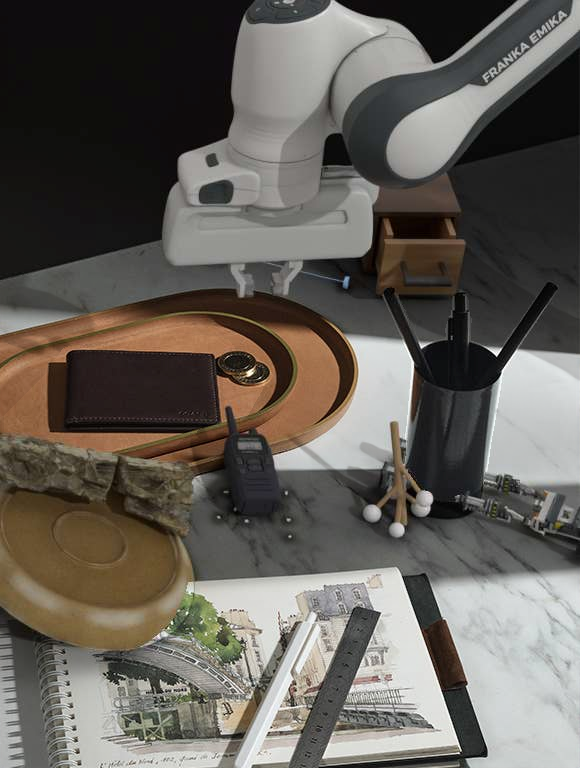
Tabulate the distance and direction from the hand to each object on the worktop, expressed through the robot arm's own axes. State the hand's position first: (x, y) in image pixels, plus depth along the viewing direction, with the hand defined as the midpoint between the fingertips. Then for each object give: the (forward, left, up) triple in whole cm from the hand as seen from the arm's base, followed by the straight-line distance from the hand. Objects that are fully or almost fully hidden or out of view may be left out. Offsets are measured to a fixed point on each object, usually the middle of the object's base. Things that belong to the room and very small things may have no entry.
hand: (261, 293), depth 127 cm
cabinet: (-25, -49, -24) cm, 60 cm away
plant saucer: (+17, +17, -17) cm, 29 cm away
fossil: (+19, +7, -17) cm, 26 cm away
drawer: (-25, -40, -23) cm, 52 cm away
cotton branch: (-15, +3, -14) cm, 20 cm away
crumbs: (-1, +6, -24) cm, 25 cm away
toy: (-16, +1, -23) cm, 28 cm away
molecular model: (-7, -41, -24) cm, 48 cm away
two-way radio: (-1, +8, -23) cm, 24 cm away
